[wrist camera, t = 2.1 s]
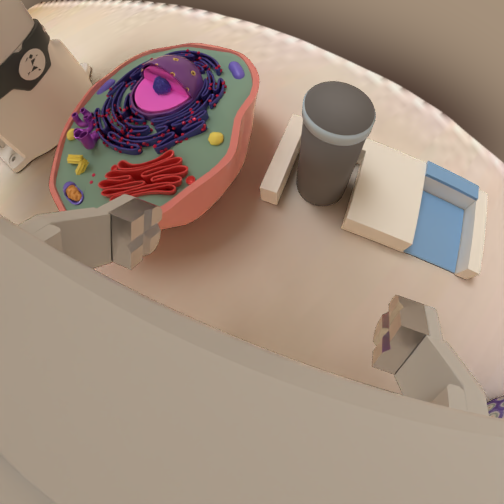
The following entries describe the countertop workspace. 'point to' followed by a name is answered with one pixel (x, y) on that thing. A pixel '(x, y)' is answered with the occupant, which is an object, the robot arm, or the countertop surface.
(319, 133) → the stub
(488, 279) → the countertop surface
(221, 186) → the cell model
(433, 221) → the cream holder tray
